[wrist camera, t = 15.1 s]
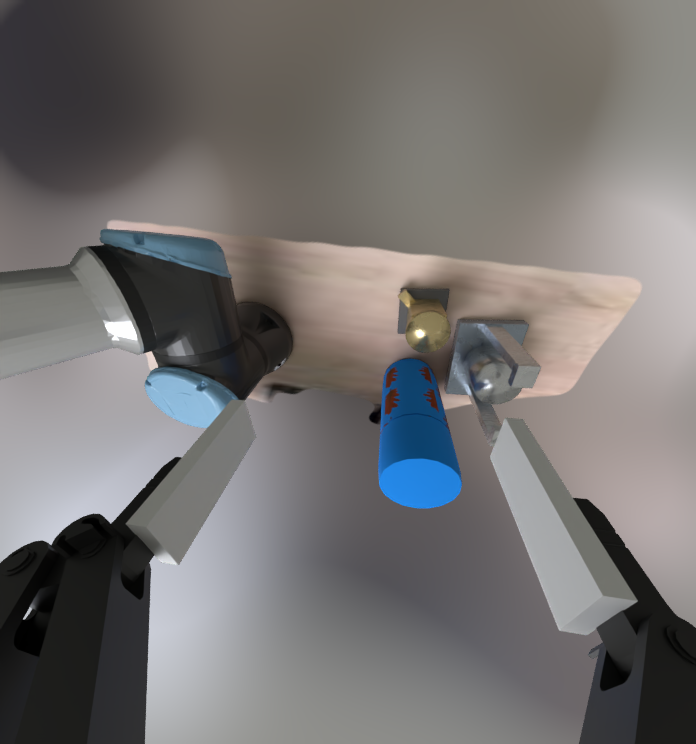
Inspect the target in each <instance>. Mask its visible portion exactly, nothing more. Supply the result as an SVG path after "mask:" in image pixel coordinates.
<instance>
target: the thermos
mask: <svg viewBox="0 0 696 744" xmlns="http://www.w3.org/2000/svg"><path fill="white" fill-rule="evenodd" d="M379 485H380V488H381V490H382V491H383V493H384V494H385V495H386V496H387V497H388V498H390V499H391V500H392V501H394V502H397V503H399V504H401V505H403V506H408V507H413V508H433V507H438V506H442V505H445V504H447V503H448V502H451V501H453V500H454V499H455V497H456V496H457V495H458V494H459V493H460V489H461V486H462V481H461V473H460V468H459V465H458V461H457V457H456V453H455V449H454V446H453V442H452V438H451V434H450V430H449V427H448V423H447V419H446V415H445V412H444V408H443V404H442V400H441V396H440V392H439V389H438V385H437V382H436V379H435V376H434V374H433V371H432V369H431V368H430V367H429V366H428V365H427V364H426V363H424V362H422V361H420V360H417V359H411V358H409V359H402V360H399V361H397V362H395V363H393V364H392V365H391V366H390V367H389V368H388V369H387V371H386V373H385V375H384V381H383V391H382V410H381V429H380V448H379Z"/></svg>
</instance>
